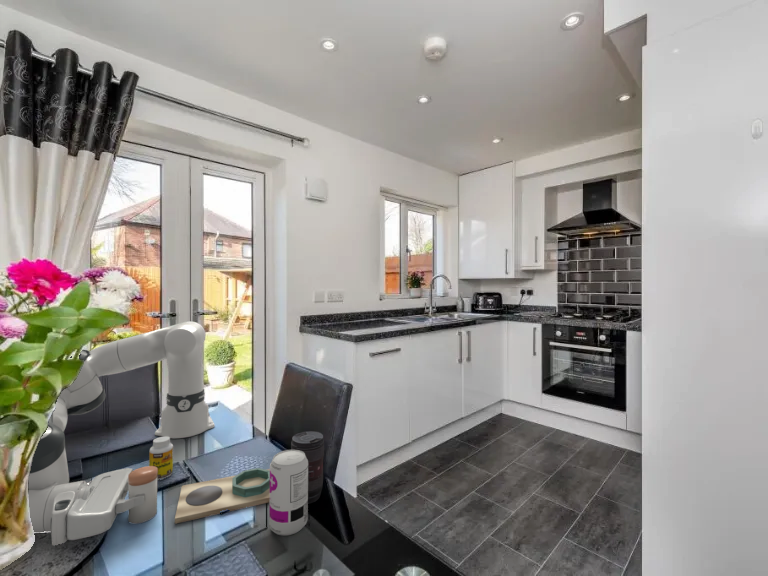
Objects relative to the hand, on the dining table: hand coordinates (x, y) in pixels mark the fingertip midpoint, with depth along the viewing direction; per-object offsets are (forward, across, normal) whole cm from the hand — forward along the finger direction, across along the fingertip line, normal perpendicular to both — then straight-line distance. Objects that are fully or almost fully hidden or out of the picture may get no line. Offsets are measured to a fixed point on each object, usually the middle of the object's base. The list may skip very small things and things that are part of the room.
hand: (147, 490), depth 81 cm
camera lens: (+35, +7, -6) cm, 36 cm away
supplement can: (+29, +16, -6) cm, 34 cm away
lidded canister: (-1, 0, -6) cm, 6 cm away
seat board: (+17, -1, -6) cm, 18 cm away
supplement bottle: (0, -18, -6) cm, 19 cm away
